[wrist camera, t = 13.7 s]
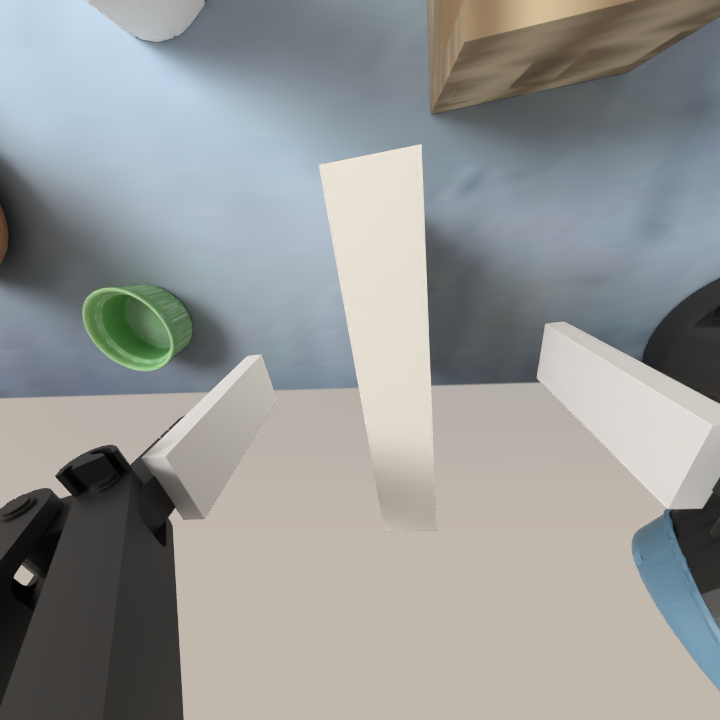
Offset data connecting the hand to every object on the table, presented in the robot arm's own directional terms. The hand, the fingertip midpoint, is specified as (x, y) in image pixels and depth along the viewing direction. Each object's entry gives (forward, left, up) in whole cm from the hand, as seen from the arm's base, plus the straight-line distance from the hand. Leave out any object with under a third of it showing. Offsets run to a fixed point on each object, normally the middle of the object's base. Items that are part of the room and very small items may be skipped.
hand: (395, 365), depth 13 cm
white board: (0, 0, -17) cm, 17 cm away
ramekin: (+26, 0, -17) cm, 31 cm away
